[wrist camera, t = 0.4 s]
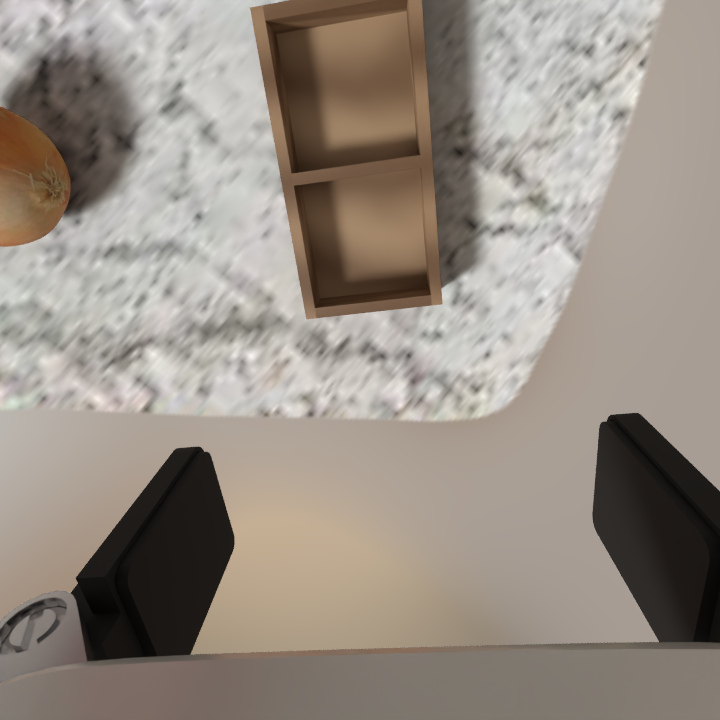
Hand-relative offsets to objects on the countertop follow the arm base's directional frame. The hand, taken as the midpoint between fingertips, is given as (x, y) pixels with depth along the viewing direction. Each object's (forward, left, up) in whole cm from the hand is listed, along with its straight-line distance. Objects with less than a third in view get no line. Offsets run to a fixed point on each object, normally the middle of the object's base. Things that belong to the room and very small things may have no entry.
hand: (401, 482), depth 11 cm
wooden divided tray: (-7, -2, -29) cm, 30 cm away
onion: (-10, -28, -30) cm, 42 cm away
